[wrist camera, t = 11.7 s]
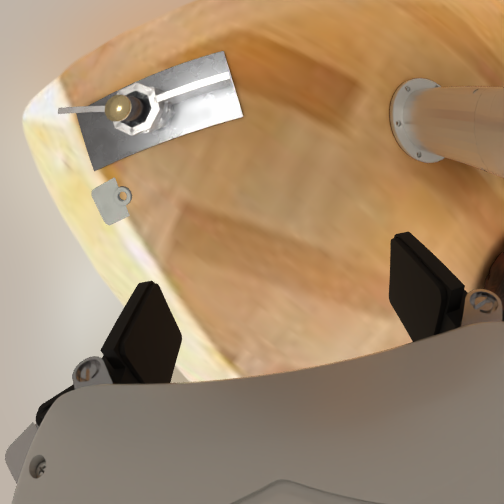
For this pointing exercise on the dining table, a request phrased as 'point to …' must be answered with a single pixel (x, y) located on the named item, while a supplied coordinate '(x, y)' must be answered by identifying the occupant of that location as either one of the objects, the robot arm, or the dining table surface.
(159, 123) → the hinge leaf
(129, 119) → the hinge pin
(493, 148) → the robot arm
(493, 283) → the bowl
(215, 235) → the dining table surface
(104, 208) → the mounting bracket
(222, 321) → the dining table surface
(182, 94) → the hinge stand
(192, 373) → the dining table surface
